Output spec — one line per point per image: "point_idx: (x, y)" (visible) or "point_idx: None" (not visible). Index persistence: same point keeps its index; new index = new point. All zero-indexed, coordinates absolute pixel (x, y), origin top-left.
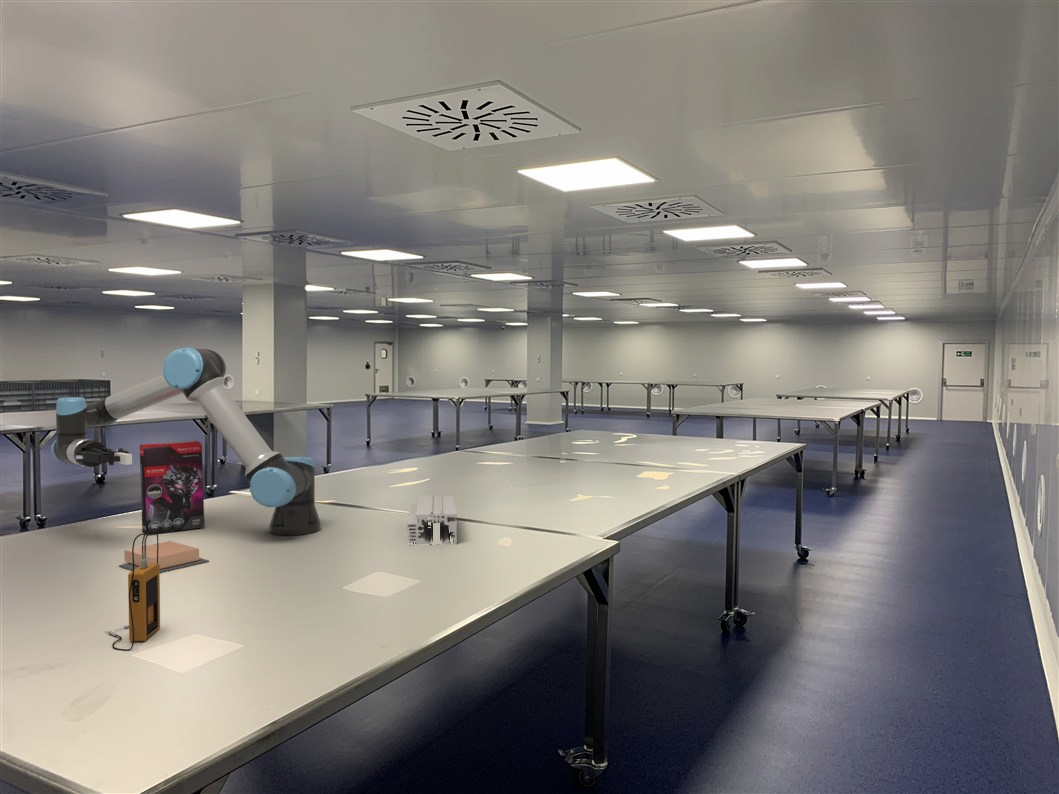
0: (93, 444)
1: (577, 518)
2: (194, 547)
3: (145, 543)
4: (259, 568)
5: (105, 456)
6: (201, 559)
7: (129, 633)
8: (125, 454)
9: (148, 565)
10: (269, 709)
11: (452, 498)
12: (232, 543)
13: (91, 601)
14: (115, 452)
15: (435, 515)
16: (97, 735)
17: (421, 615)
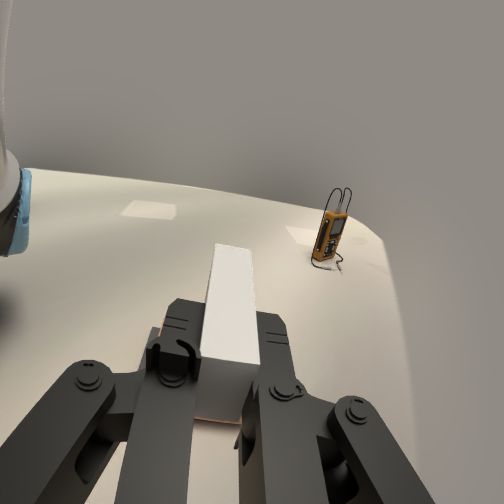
0: None
1: None
2: (161, 327)
3: (341, 196)
4: (150, 273)
5: (330, 404)
6: (152, 338)
7: (335, 251)
8: (245, 259)
9: (333, 213)
10: (307, 209)
11: None
12: (28, 362)
13: (339, 323)
14: (190, 443)
15: None
16: (358, 230)
17: (196, 194)
